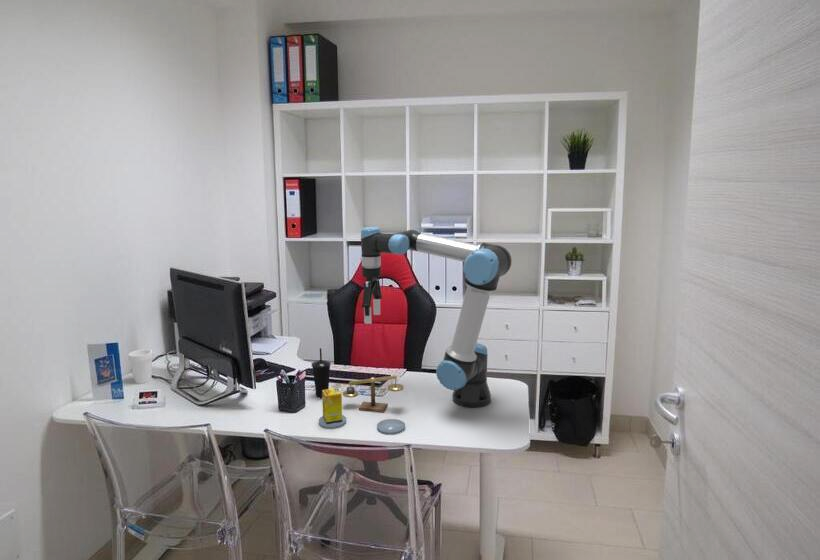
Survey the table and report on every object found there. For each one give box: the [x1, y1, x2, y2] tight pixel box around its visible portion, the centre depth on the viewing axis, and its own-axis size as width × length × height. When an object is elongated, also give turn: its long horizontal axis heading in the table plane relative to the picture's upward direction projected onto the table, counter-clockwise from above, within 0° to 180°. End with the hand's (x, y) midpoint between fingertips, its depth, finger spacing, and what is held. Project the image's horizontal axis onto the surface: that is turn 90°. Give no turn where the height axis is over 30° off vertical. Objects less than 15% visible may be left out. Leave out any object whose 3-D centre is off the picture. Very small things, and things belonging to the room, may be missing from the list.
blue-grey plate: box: [376, 418, 406, 435], centre depth 206 cm, size 10×10×1 cm
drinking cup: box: [311, 348, 331, 399], centre depth 234 cm, size 8×8×20 cm
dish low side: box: [318, 414, 347, 430], centre depth 211 cm, size 10×10×1 cm
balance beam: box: [342, 375, 405, 398], centre depth 221 cm, size 24×6×9 cm, turn 77°
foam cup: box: [128, 349, 154, 385], centre depth 252 cm, size 10×9×13 cm
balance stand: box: [357, 382, 389, 414], centre depth 222 cm, size 10×6×11 cm, turn 77°
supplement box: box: [321, 387, 343, 424], centre depth 209 cm, size 6×6×11 cm
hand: (372, 318), depth 232 cm, fingers open, 13 cm apart
